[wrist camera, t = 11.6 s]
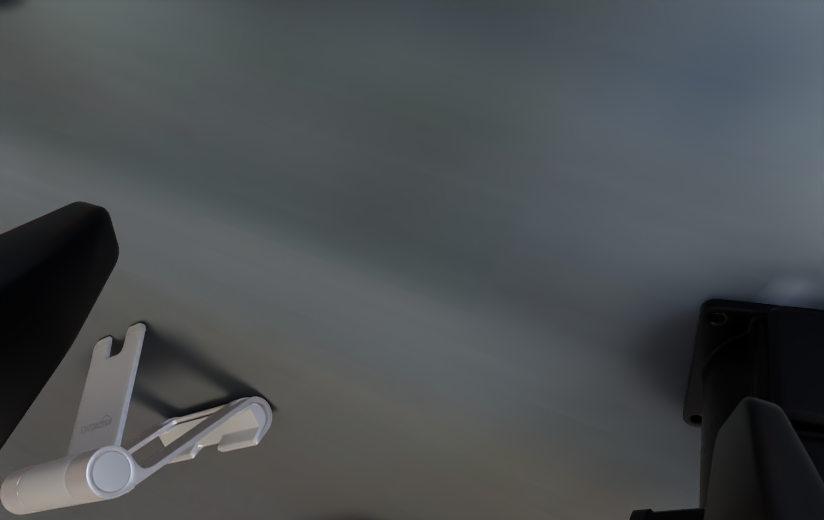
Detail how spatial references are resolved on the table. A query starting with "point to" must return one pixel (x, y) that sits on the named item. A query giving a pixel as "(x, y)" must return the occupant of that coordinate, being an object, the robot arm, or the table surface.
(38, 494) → the tablet stand
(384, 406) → the table surface
